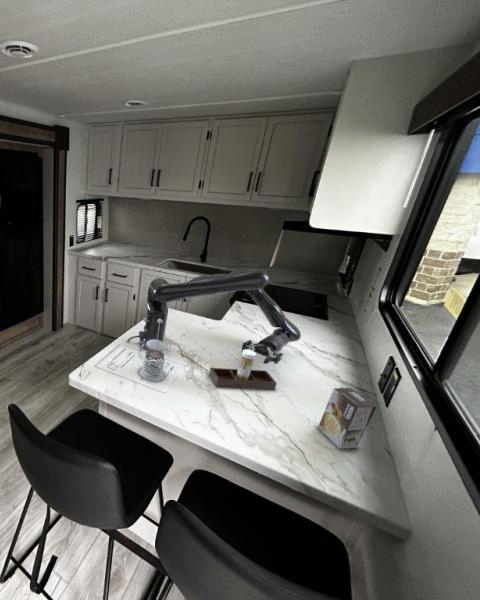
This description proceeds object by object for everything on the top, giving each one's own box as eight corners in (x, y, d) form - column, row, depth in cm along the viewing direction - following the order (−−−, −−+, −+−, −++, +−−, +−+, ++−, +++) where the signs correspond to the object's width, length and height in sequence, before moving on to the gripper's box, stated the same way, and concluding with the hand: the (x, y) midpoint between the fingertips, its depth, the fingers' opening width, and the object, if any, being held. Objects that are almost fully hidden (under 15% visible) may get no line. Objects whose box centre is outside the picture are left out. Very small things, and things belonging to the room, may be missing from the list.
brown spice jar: (232, 377, 129) (240, 349, 123) (242, 376, 129) (250, 348, 124) (239, 384, 124) (248, 355, 119) (250, 383, 125) (258, 354, 120)
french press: (159, 384, 124) (168, 327, 114) (132, 374, 129) (139, 319, 120) (167, 372, 131) (176, 318, 122) (141, 363, 137) (148, 310, 128)
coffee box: (358, 448, 98) (378, 407, 92) (339, 449, 97) (358, 407, 91) (334, 426, 106) (351, 387, 100) (316, 426, 106) (332, 387, 100)
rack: (274, 390, 123) (276, 382, 122) (216, 387, 124) (217, 379, 122) (263, 377, 131) (266, 370, 129) (208, 374, 131) (210, 367, 130)
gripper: (256, 330, 140) (238, 341, 130) (291, 344, 130) (275, 356, 120) (252, 345, 143) (234, 356, 133) (286, 360, 132) (269, 373, 123)
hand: (253, 356), depth 127 cm, fingers open, 8 cm apart
